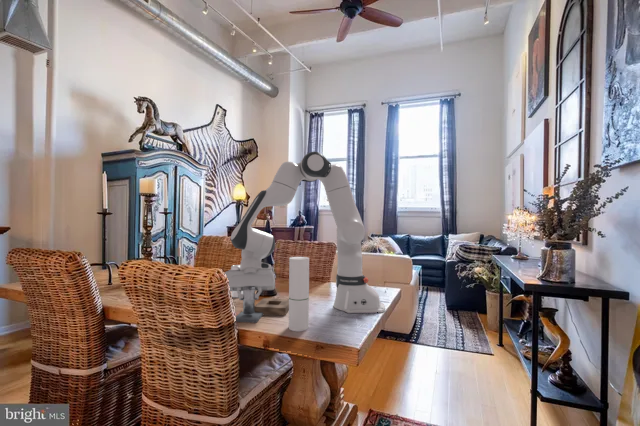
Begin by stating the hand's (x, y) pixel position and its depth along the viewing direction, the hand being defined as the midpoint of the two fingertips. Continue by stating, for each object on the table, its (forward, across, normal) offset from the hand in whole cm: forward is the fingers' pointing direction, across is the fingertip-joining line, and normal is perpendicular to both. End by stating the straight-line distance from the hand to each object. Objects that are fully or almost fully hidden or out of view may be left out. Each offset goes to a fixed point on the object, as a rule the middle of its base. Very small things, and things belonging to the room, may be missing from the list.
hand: (248, 299), depth 121 cm
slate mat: (+5, 0, +6) cm, 8 cm away
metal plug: (+3, 0, +4) cm, 5 cm away
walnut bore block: (-2, +10, +12) cm, 16 cm away
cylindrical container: (+14, +18, -3) cm, 23 cm away
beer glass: (-19, -8, +30) cm, 36 cm away
